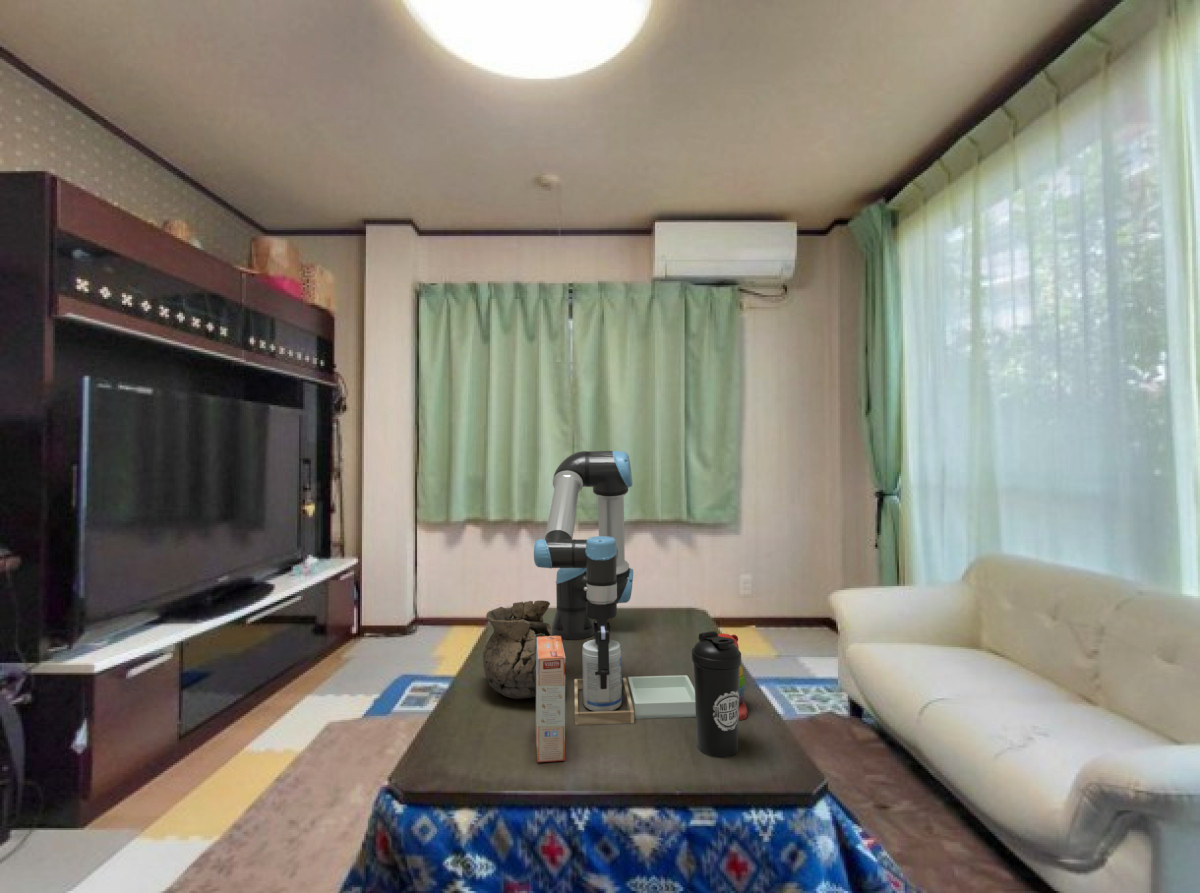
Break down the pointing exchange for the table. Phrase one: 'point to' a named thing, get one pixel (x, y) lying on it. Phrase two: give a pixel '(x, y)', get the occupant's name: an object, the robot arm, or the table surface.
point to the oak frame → (603, 716)
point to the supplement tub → (591, 679)
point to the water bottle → (716, 694)
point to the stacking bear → (741, 682)
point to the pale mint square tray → (662, 696)
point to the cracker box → (550, 699)
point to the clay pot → (515, 648)
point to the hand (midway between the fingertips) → (602, 691)
